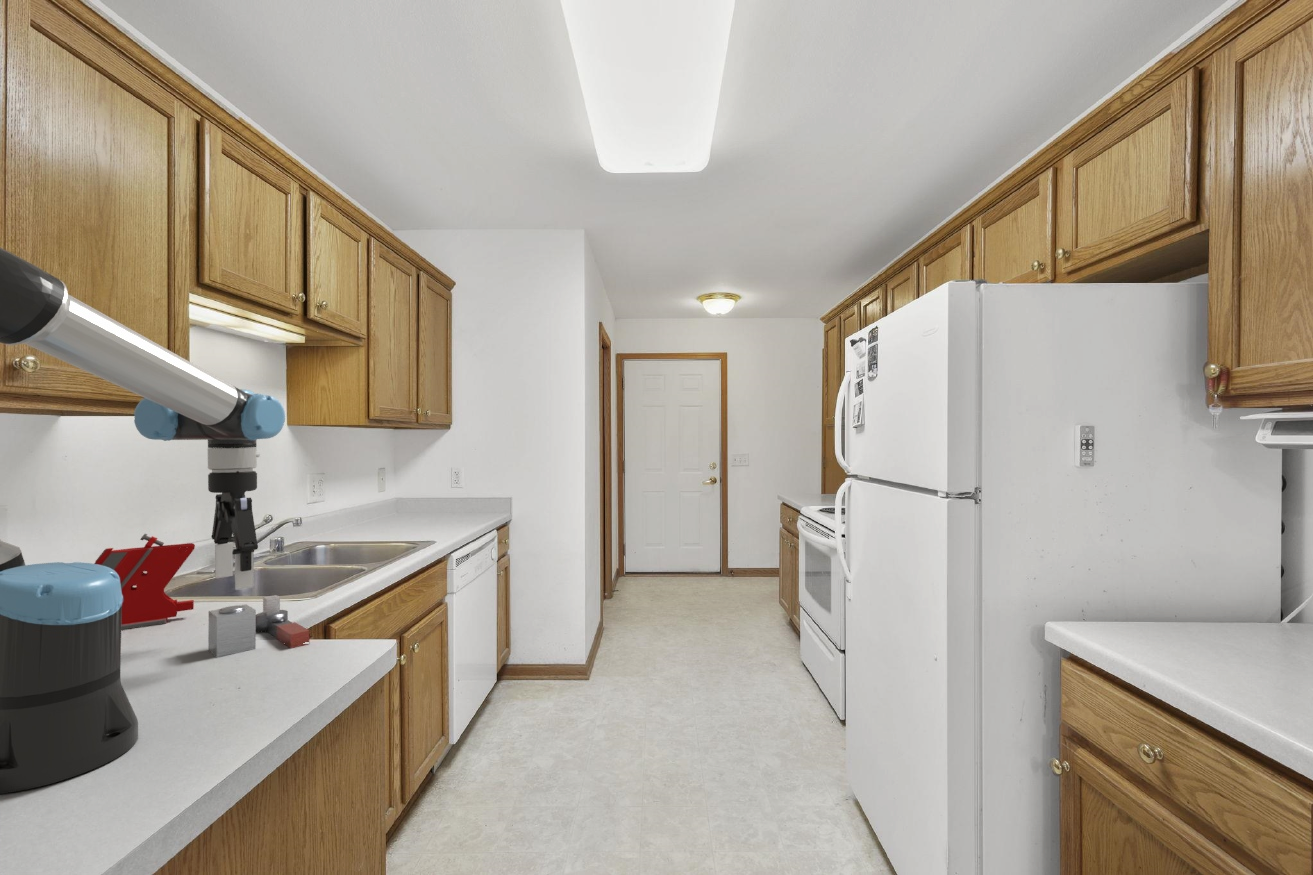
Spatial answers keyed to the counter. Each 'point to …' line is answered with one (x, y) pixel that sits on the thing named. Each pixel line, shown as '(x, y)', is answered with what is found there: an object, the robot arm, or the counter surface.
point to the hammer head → (232, 630)
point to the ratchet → (280, 624)
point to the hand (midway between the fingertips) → (233, 582)
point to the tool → (147, 581)
